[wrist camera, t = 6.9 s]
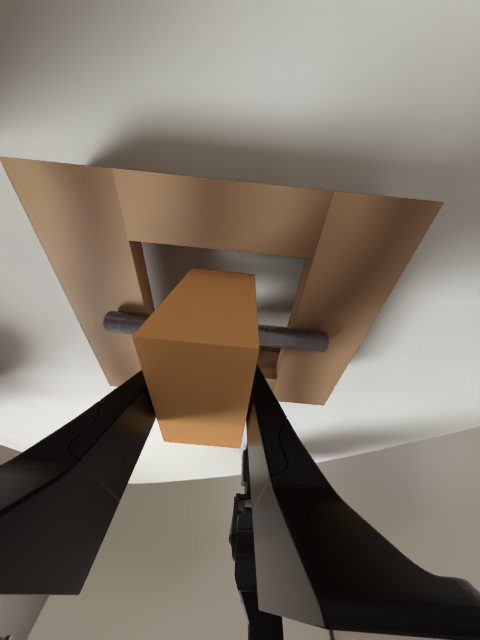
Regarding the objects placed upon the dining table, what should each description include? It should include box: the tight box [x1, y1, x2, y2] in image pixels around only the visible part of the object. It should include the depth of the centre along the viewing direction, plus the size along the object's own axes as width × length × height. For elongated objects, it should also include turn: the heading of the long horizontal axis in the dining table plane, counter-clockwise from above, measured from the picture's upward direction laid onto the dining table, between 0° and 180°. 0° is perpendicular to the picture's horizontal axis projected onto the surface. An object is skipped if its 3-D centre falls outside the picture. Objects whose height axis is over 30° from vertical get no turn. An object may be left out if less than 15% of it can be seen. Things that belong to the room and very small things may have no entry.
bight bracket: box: [132, 268, 259, 448], centre depth 10 cm, size 4×7×7 cm, turn 175°
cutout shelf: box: [0, 157, 444, 405], centre depth 14 cm, size 20×16×6 cm
